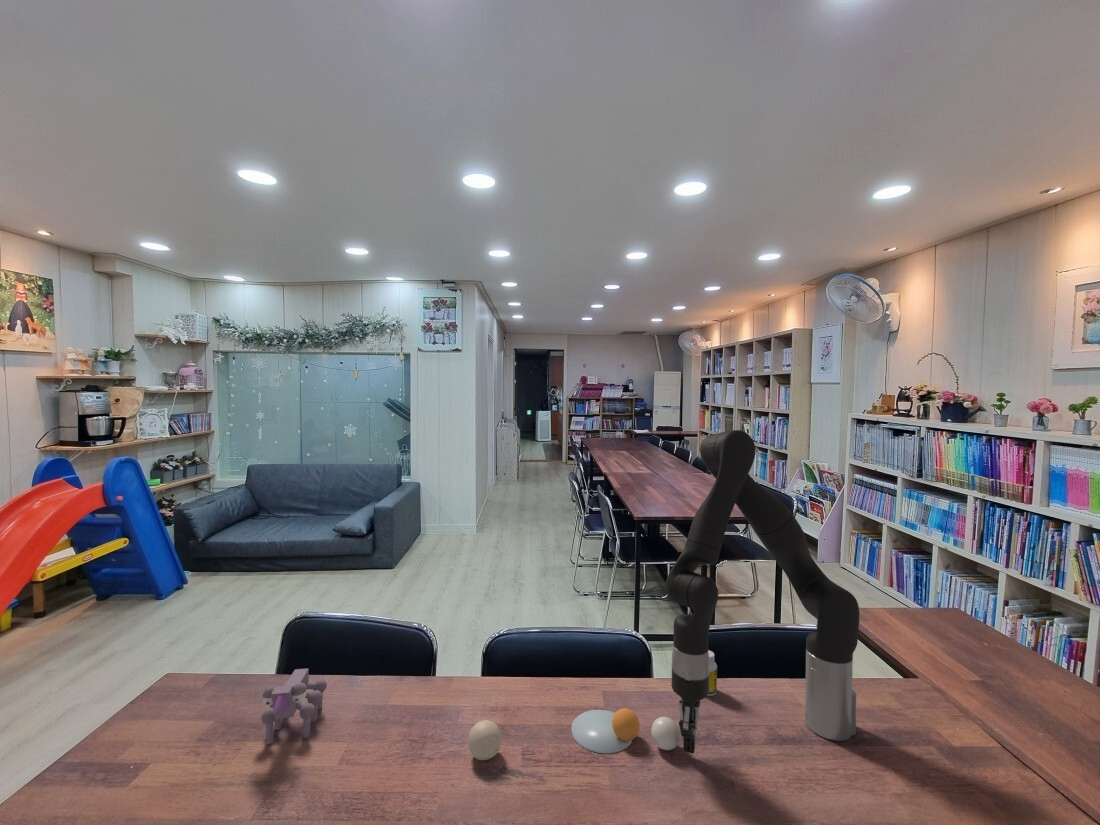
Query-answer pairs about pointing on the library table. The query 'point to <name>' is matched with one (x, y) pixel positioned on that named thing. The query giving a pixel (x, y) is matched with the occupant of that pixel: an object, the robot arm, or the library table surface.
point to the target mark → (597, 732)
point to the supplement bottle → (712, 674)
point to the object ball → (625, 724)
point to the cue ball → (665, 733)
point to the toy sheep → (292, 702)
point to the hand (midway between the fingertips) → (689, 750)
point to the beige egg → (484, 740)
